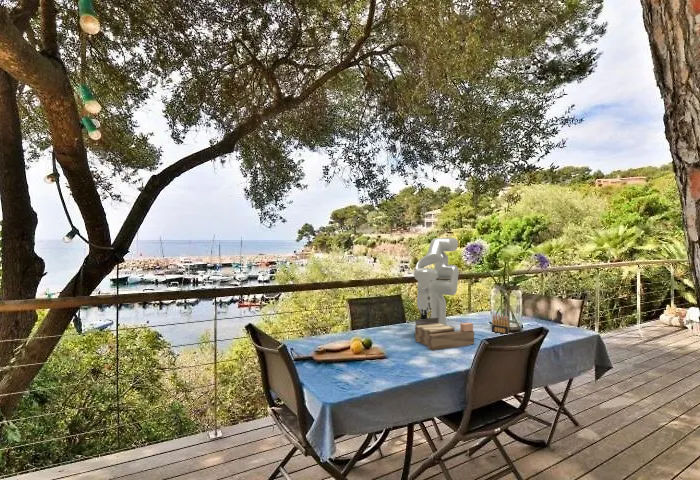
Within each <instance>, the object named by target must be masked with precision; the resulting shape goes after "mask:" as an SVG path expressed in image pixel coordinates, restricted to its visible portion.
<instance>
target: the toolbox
mask: <svg viewBox="0 0 700 480" xmlns="http://www.w3.org/2000/svg"><path fill="white" fill-rule="evenodd" d="M414 328H415V329H414V340H415V342H417V343H419V344H422V345H423V346H426V347H427V349H428V350H431V351H437V350H445V349H452V348H458V347H464V346H472V345H471V344H474V345H475V331H474V330H473V331H467V332H464V331H461V330H449V331H441V332H433V333H430V332H428V331H425V330H422V329H420V328H417V327H415V326H414Z"/></svg>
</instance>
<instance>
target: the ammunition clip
mask: <svg viewBox="0 0 700 480" xmlns="http://www.w3.org/2000/svg"><path fill="white" fill-rule="evenodd" d="M491 324H492V325H491V333H492V332H495V333H494V334H497V333H500V334H499V335H502V336H504V335H503V334H508V333H509V334H510V327H509V326H510V325H509V324H510V323H509V316H508V315H504V316H503V314H501V316H500V314H497V313H496V314H495V313H493V315H492V323H491Z"/></svg>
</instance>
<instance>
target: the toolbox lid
mask: <svg viewBox="0 0 700 480" xmlns="http://www.w3.org/2000/svg"><path fill="white" fill-rule="evenodd" d="M415 327H417V328H420V329H422V330H425V331H428V332H430V333H433V332H441V331H449V330H455V327H452V326H450V325H448V326H447V324H446V325H444V324H441V323H438V318H431V317H429V318H427V319H421V318H420V319H415V325H414V328H415ZM455 331H456V330H455Z"/></svg>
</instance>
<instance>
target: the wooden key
mask: <svg viewBox="0 0 700 480" xmlns="http://www.w3.org/2000/svg"><path fill="white" fill-rule="evenodd" d="M459 325H460V327H459V329H460V330H459V331H464V332H467V331H474V323H472V322H462V323H460V324H459Z"/></svg>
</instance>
